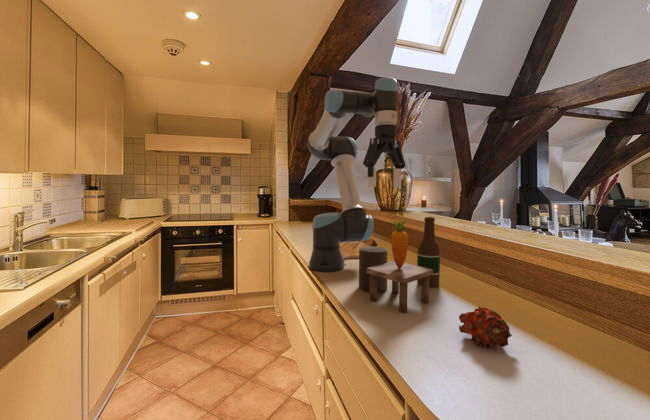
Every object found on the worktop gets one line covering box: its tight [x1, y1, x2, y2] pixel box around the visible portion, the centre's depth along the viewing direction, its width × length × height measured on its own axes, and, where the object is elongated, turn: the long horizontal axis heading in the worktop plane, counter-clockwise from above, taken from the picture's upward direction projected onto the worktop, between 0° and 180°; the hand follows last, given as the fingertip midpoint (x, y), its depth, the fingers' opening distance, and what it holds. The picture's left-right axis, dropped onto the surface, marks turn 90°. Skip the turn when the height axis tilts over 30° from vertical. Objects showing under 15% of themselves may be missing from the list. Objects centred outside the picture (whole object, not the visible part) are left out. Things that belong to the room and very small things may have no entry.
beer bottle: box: [416, 216, 441, 289], centre depth 107 cm, size 8×8×24 cm
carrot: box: [391, 219, 409, 269], centre depth 91 cm, size 5×5×15 cm
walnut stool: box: [366, 260, 433, 314], centre depth 92 cm, size 14×14×10 cm
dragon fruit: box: [458, 306, 513, 349], centre depth 67 cm, size 8×8×12 cm
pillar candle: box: [358, 245, 389, 294], centre depth 104 cm, size 10×10×15 cm
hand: (385, 186), depth 107 cm, fingers open, 13 cm apart
